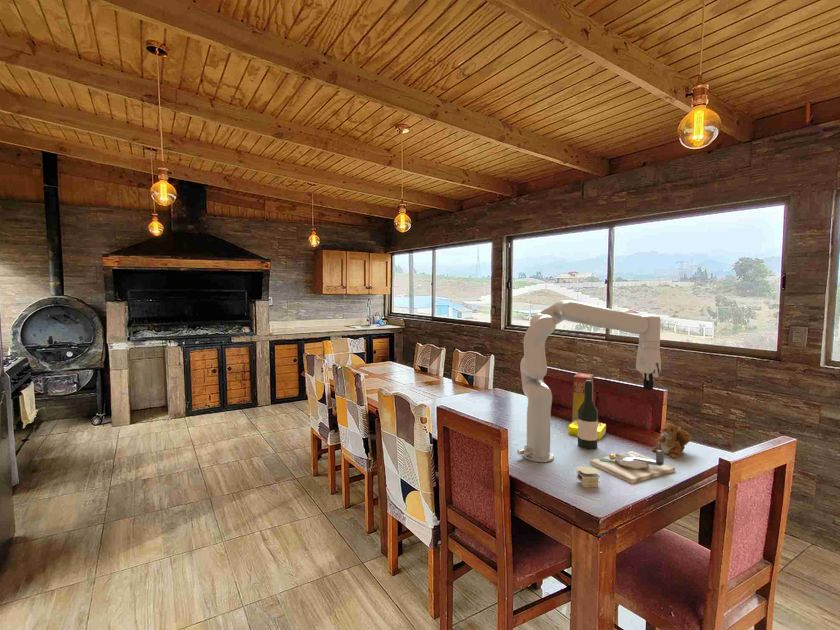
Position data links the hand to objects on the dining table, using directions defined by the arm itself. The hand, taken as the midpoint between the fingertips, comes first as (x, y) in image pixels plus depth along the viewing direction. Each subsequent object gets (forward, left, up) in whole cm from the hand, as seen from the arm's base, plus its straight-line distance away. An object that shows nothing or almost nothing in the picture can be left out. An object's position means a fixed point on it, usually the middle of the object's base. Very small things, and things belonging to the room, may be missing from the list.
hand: (648, 389), depth 169 cm
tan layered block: (-41, -7, -30) cm, 51 cm away
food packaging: (+15, +49, -29) cm, 59 cm away
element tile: (+2, +34, -30) cm, 45 cm away
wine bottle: (-12, +20, -29) cm, 37 cm away
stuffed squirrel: (+16, 0, -29) cm, 33 cm away
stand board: (-14, -4, -29) cm, 33 cm away
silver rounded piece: (-13, -5, -27) cm, 31 cm away
